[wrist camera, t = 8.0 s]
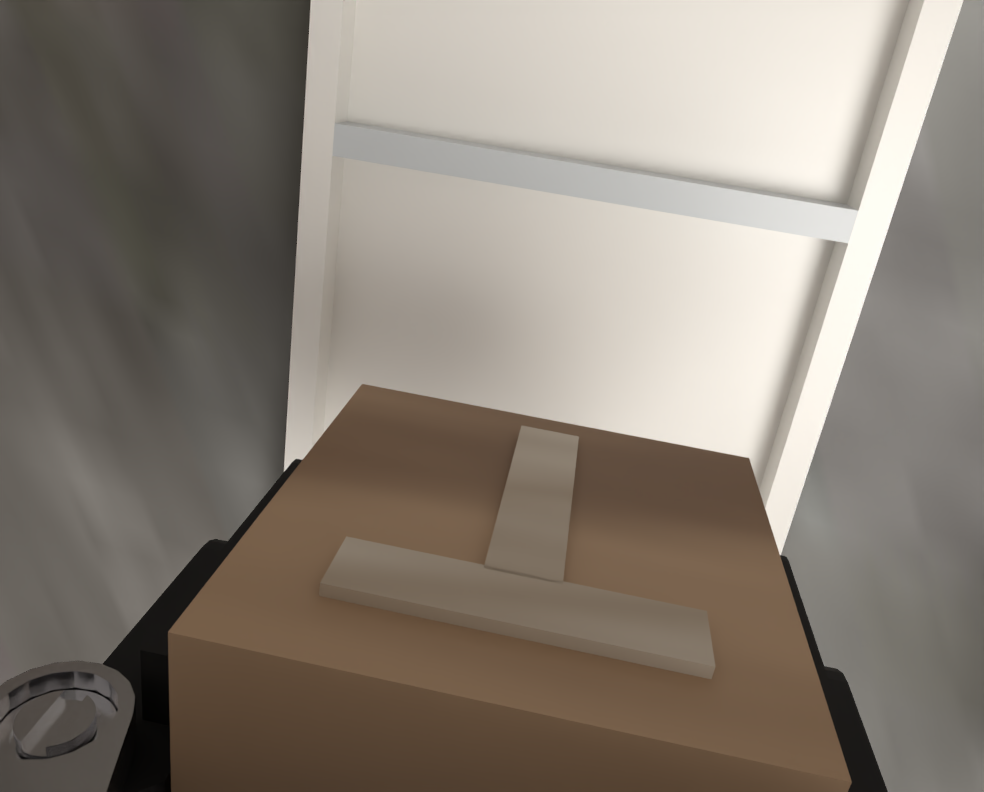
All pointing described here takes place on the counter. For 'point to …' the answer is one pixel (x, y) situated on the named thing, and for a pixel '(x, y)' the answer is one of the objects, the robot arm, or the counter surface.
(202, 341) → the counter surface
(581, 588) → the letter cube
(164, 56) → the counter surface
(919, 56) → the tray
